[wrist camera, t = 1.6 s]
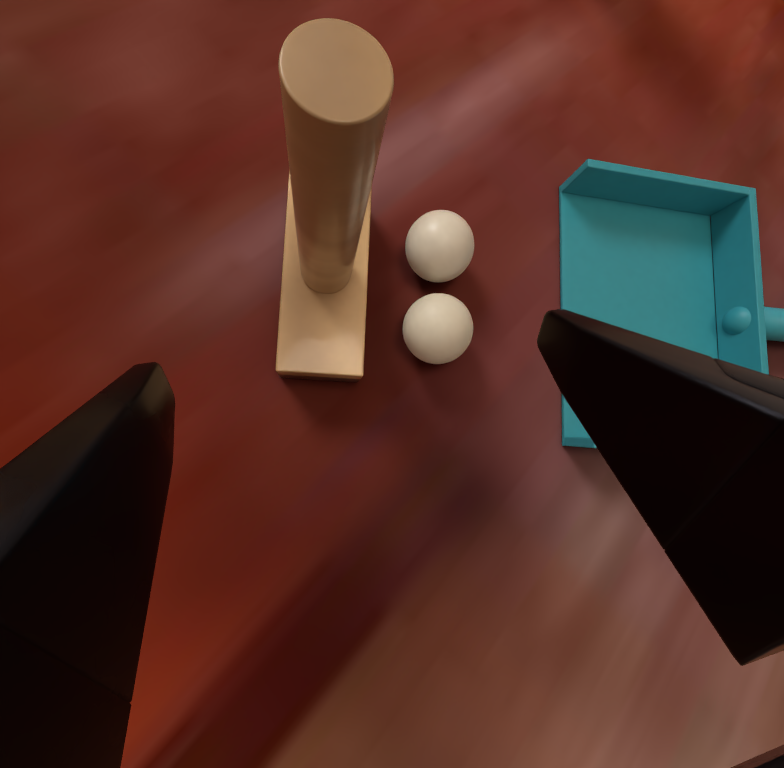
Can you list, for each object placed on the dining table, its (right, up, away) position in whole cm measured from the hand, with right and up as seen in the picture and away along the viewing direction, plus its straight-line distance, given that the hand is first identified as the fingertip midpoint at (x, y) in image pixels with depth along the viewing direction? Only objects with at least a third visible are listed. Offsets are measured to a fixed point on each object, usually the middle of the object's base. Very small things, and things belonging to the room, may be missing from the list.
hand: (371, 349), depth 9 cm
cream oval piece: (+3, +6, +13) cm, 15 cm away
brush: (-3, +4, +12) cm, 13 cm away
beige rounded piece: (+3, +2, +13) cm, 13 cm away
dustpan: (+20, +3, +16) cm, 26 cm away
